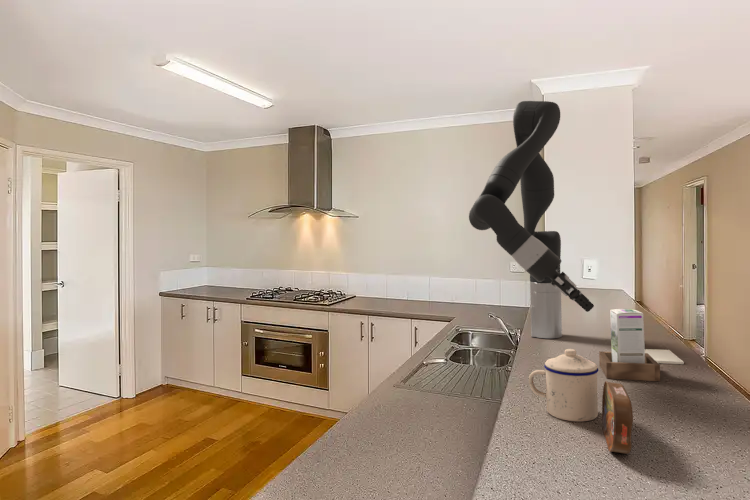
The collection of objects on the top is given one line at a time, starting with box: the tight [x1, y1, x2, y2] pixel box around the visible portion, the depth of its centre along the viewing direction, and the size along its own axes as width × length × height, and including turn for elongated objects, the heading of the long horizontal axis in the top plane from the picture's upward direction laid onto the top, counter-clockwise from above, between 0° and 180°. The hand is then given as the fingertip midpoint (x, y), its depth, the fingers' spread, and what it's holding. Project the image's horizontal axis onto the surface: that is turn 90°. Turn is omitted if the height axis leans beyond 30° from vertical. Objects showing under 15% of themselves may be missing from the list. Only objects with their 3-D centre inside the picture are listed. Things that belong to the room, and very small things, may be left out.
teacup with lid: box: [528, 348, 599, 423], centre depth 86 cm, size 12×9×12 cm
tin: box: [601, 380, 634, 455], centre depth 74 cm, size 15×3×8 cm, turn 159°
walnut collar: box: [598, 350, 661, 382], centre depth 108 cm, size 10×10×4 cm
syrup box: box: [609, 308, 646, 363], centre depth 108 cm, size 6×6×14 cm
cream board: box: [645, 348, 685, 365], centre depth 121 cm, size 12×12×1 cm
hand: (588, 306), depth 110 cm, fingers open, 8 cm apart
